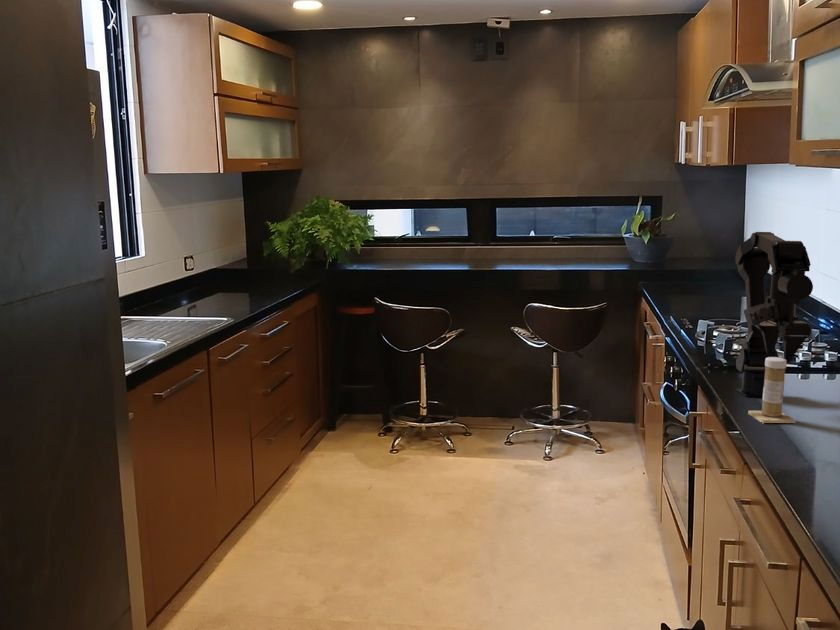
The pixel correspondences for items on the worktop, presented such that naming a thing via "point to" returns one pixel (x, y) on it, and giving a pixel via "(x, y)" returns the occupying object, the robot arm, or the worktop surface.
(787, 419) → the trivet
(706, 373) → the worktop surface
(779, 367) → the sprinkles bottle
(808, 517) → the worktop surface
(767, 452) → the worktop surface
